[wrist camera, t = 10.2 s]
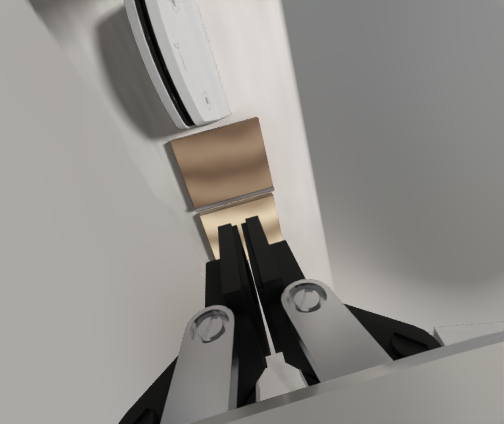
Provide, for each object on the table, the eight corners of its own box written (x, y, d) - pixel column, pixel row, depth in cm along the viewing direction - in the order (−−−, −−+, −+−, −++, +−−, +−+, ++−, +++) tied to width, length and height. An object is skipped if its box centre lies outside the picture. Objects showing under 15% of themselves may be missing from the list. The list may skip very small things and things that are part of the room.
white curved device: (232, 115, 39) (210, 132, 30) (203, 124, 40) (175, 142, 32) (188, -27, 32) (144, -57, 23) (155, -11, 33) (102, -34, 25)
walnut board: (171, 140, 39) (169, 142, 37) (256, 116, 40) (258, 118, 38) (196, 208, 44) (196, 213, 42) (271, 187, 45) (274, 191, 43)
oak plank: (200, 212, 44) (199, 216, 43) (271, 192, 45) (273, 195, 43) (218, 263, 49) (219, 268, 48) (283, 245, 50) (285, 249, 48)
